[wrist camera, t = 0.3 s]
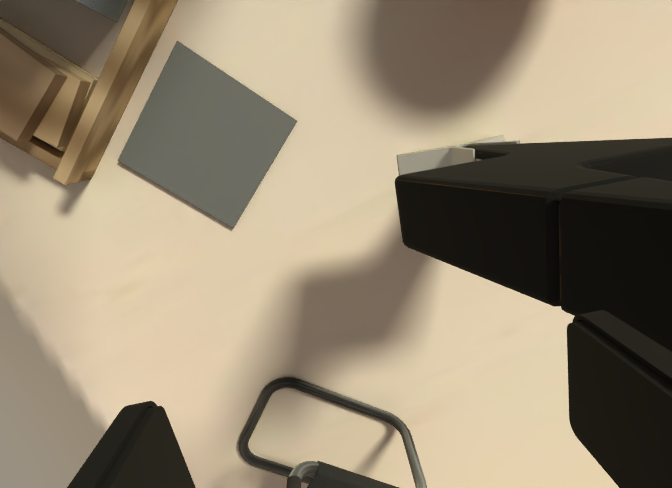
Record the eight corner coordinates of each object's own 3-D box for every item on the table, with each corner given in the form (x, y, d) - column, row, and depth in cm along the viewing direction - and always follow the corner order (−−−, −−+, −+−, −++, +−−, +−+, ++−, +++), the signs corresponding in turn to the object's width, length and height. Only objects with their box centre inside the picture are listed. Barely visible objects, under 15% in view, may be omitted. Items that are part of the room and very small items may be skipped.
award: (377, 212, 39) (550, 450, 10) (369, 160, 37) (546, 263, 9) (527, 184, 39) (1134, 344, 10) (525, 130, 37) (1232, 135, 8)
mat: (178, 41, 34) (177, 40, 33) (297, 120, 36) (296, 120, 36) (119, 160, 36) (117, 160, 36) (233, 227, 38) (233, 228, 38)
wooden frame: (-13, -186, 29) (-64, -234, 25) (195, -37, 32) (178, -59, 28) (-99, 71, 33) (-153, 63, 29) (91, 178, 37) (64, 184, 33)
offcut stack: (-34, -9, 32) (-89, -31, 28) (108, 79, 34) (78, 72, 30) (-64, 73, 33) (-120, 65, 29) (74, 152, 36) (41, 156, 32)
